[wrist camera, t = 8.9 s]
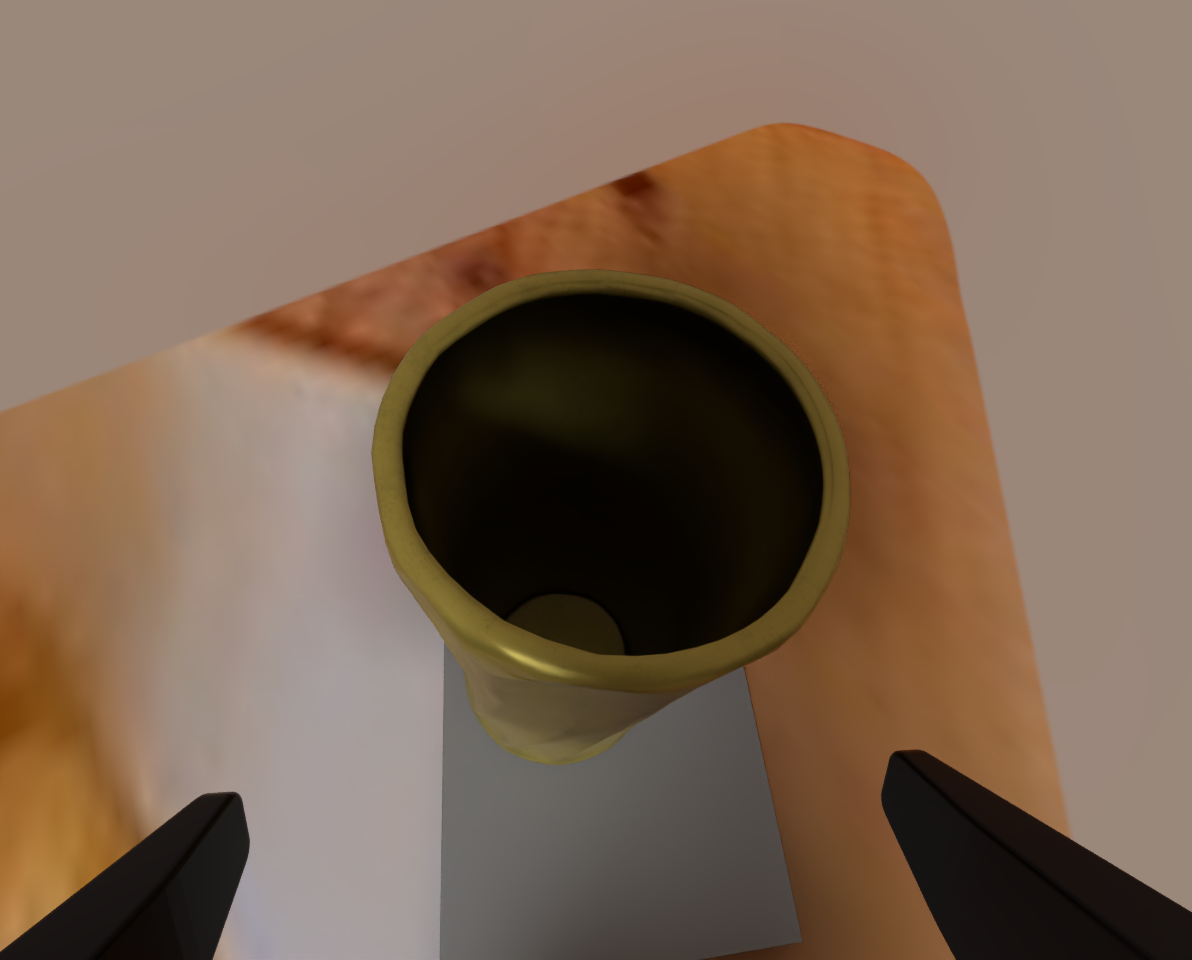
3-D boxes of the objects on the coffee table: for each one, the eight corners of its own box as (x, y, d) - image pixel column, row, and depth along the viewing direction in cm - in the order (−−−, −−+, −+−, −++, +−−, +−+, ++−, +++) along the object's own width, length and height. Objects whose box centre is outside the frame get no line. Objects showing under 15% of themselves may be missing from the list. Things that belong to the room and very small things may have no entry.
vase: (453, 592, 19) (312, 259, 7) (623, 558, 21) (773, 222, 8) (480, 788, 17) (332, 848, 4) (672, 736, 18) (1011, 655, 5)
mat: (795, 937, 16) (802, 941, 16) (441, 998, 15) (439, 1005, 14) (708, 524, 22) (711, 519, 22) (447, 539, 21) (446, 534, 20)
